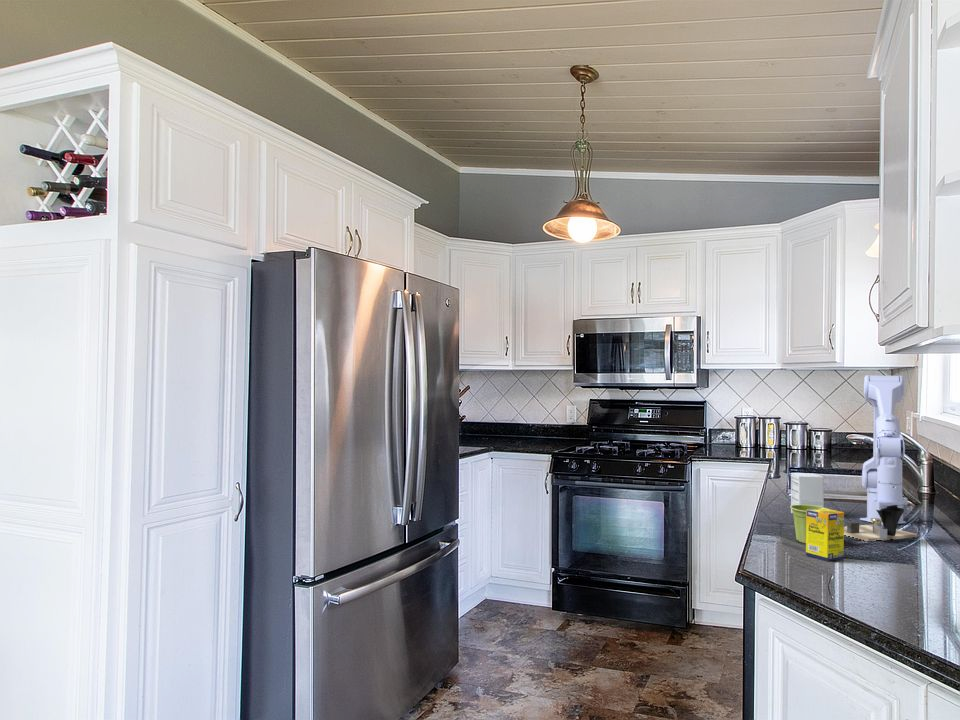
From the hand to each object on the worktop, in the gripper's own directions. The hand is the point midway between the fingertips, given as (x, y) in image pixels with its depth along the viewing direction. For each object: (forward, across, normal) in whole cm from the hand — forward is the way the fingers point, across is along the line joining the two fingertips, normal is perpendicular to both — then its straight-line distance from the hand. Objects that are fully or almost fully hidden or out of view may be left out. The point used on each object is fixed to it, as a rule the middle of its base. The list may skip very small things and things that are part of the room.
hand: (889, 535), depth 183 cm
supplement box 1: (+1, -12, -30) cm, 32 cm away
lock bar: (0, 0, -3) cm, 3 cm away
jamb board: (+1, -3, -6) cm, 7 cm away
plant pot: (+2, +20, -10) cm, 23 cm away
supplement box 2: (+2, +32, +1) cm, 32 cm away
